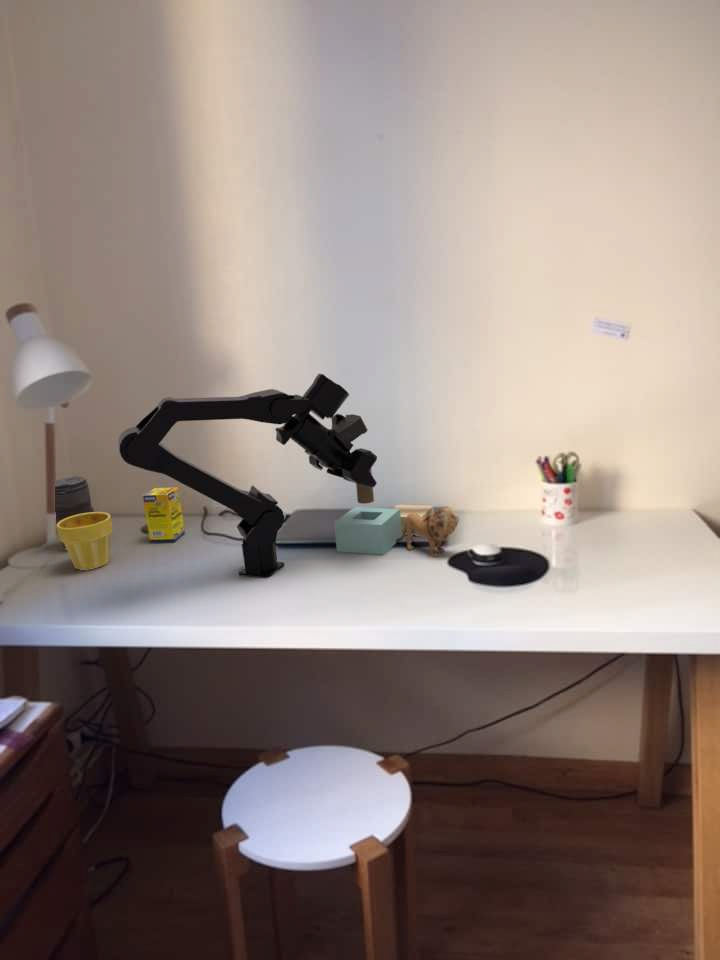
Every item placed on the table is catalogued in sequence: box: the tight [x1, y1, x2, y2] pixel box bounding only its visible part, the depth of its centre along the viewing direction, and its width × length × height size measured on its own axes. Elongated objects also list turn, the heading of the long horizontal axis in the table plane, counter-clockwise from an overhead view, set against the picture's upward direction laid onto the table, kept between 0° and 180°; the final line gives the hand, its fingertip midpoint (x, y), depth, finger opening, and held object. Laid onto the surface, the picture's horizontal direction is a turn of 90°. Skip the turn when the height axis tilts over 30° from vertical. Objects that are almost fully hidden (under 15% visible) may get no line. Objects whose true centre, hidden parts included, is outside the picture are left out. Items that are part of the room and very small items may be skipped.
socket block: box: [333, 506, 402, 556], centre depth 147 cm, size 10×10×6 cm
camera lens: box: [54, 476, 95, 548], centre depth 162 cm, size 8×8×15 cm
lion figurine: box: [396, 507, 460, 558], centre depth 141 cm, size 15×5×9 cm, turn 48°
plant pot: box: [56, 511, 114, 570], centre depth 150 cm, size 10×10×10 cm
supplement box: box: [142, 486, 186, 544], centre depth 162 cm, size 6×6×11 cm
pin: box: [355, 468, 375, 504], centre depth 145 cm, size 3×3×8 cm
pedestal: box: [392, 504, 435, 534], centre depth 154 cm, size 8×8×4 cm
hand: (370, 483), depth 146 cm, fingers closed on pin, 3 cm apart
